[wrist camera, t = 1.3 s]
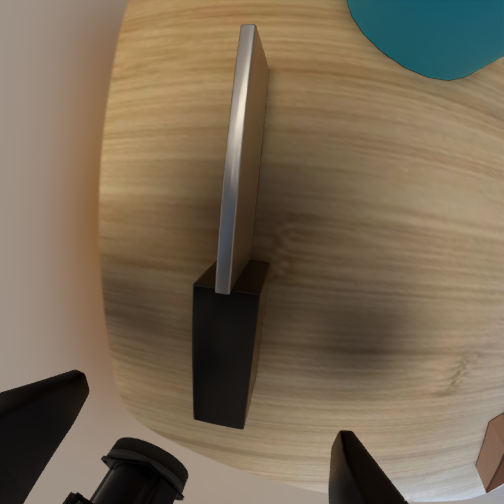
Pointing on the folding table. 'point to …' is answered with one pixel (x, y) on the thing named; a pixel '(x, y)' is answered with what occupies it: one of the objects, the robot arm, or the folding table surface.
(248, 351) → the knife
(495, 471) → the brown block
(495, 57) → the mug
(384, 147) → the folding table surface
